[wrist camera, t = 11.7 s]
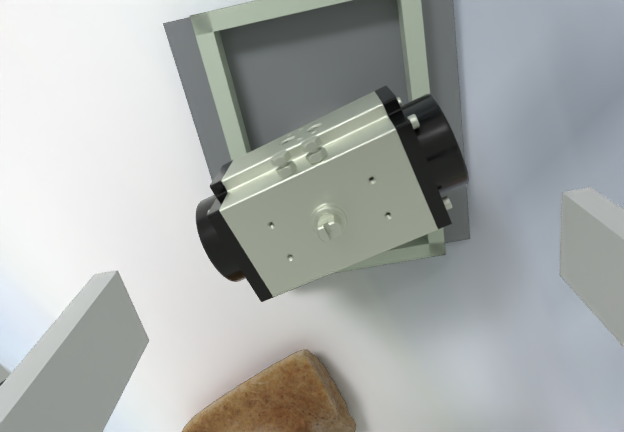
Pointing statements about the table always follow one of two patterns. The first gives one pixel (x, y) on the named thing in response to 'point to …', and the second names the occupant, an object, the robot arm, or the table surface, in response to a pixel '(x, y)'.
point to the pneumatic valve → (332, 193)
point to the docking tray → (317, 77)
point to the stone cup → (279, 402)
